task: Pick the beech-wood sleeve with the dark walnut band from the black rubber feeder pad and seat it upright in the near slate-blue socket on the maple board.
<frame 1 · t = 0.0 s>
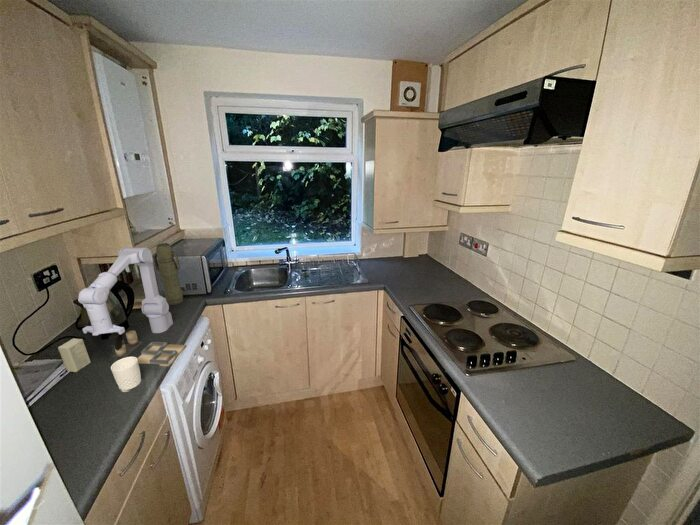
hand: (109, 348, 114), 10 cm above the worktop, fingers open, 7 cm apart
sleeve band down: (133, 344, 132), point 1 cm above the worktop, touching feeder pad
sleeve band up: (122, 353, 125), point 1 cm above the worktop, touching feeder pad
skincare box: (79, 368, 118), on the worktop
feeder pad: (128, 350, 129), on the worktop
white cup: (131, 385, 110), on the worktop
socket board: (160, 355, 126), on the worktop
thermos: (175, 301, 172), on the worktop
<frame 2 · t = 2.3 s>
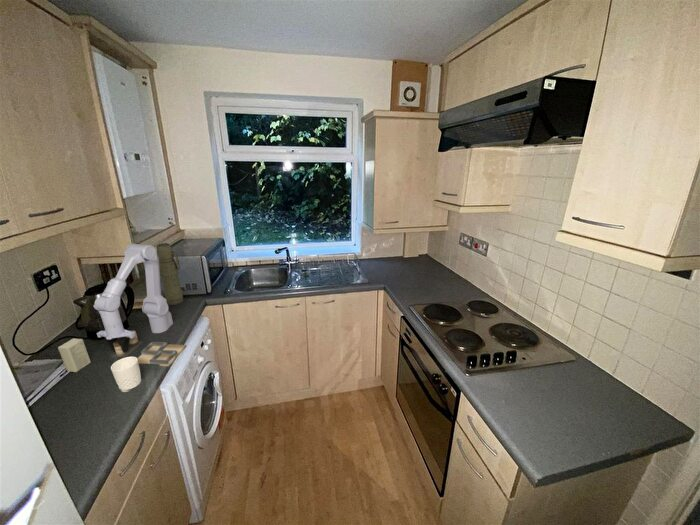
hand: (121, 351, 125), 2 cm above the worktop, fingers closed on sleeve band up, 4 cm apart
sleeve band up: (122, 353, 125), point 1 cm above the worktop, touching feeder pad, gripper
everything else where it was.
when the fingers open (3 cm above the worktop, at t = 5.8 s): sleeve band up stays where it is, resting on socket board.
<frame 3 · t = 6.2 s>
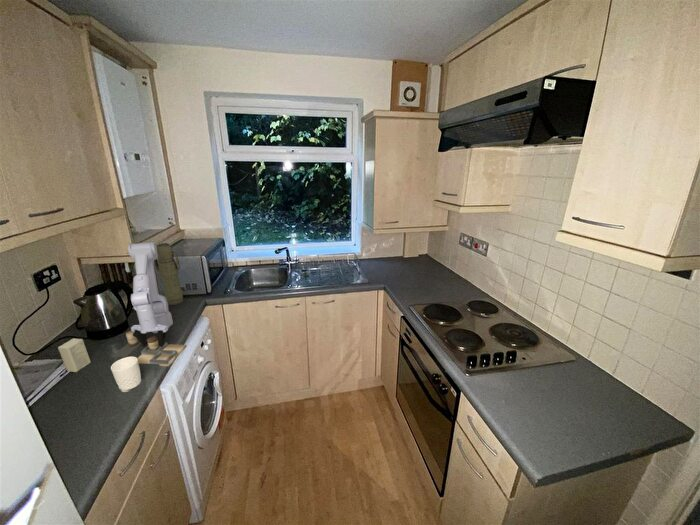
hand: (153, 345, 127), 3 cm above the worktop, fingers open, 7 cm apart
sleeve band up: (154, 349, 128), point 1 cm above the worktop, touching socket board
everything else where it was.
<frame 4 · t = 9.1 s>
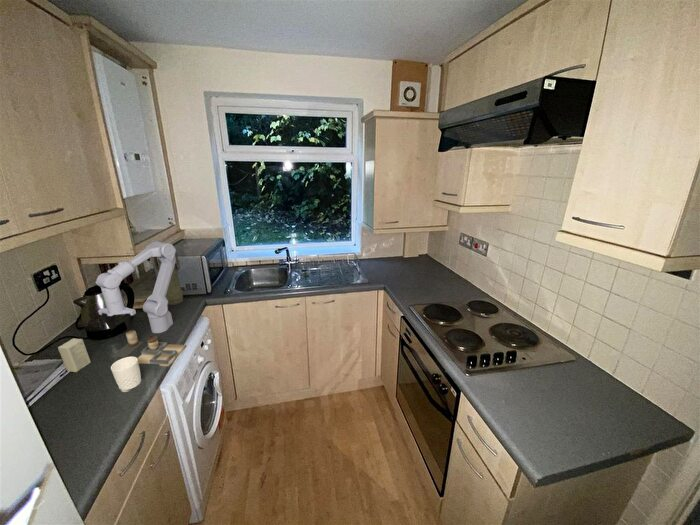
hand: (122, 328, 127), 10 cm above the worktop, fingers open, 7 cm apart
nothing on the worktop moved.
at the end: sleeve band up 0.2 cm from the target spot on the socket board, point 1.0 cm above the socket board's base; sleeve band up tilted 0°; the gripper is holding nothing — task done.
